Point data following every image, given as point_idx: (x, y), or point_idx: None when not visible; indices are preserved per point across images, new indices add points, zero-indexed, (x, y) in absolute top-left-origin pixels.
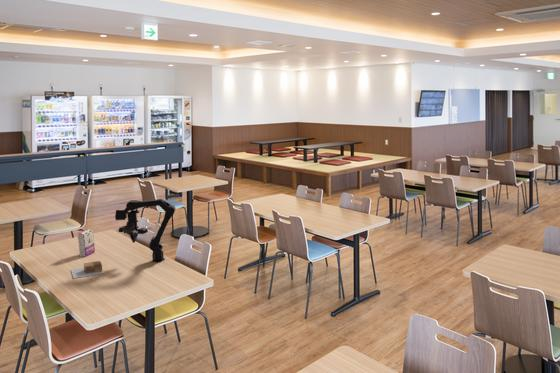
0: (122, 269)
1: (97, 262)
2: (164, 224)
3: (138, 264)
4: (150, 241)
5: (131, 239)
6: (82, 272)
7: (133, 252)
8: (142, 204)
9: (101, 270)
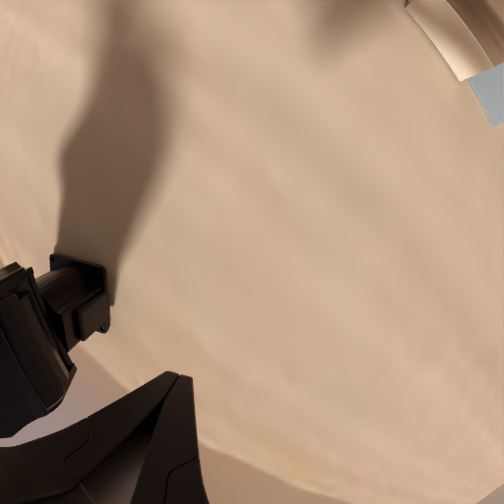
0: (261, 43)
1: (482, 25)
2: None
3: (172, 183)
4: (38, 405)
5: (193, 426)
6: None
7: (333, 431)
8: None
9: (410, 5)
